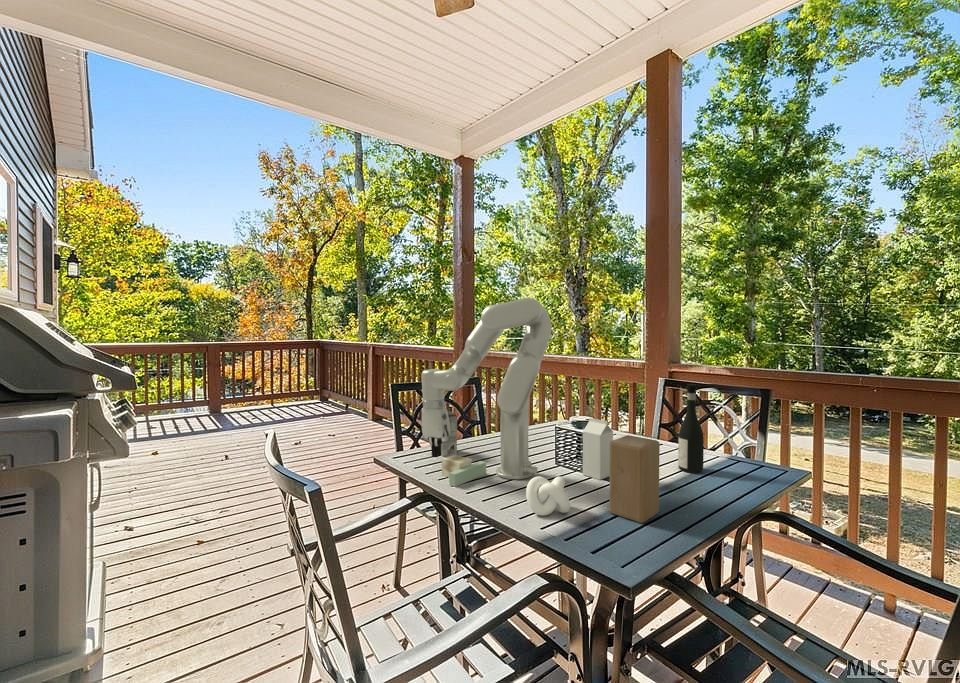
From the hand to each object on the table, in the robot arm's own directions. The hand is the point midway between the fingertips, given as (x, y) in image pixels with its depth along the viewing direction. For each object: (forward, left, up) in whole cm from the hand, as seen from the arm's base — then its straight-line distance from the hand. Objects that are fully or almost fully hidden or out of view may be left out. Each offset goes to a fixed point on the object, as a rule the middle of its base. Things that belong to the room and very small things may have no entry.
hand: (436, 456), depth 161 cm
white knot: (-49, +6, -5) cm, 50 cm away
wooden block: (-68, -6, -5) cm, 68 cm away
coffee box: (+12, -17, -5) cm, 22 cm away
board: (-15, +1, -5) cm, 16 cm away
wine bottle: (-70, -54, -5) cm, 89 cm away
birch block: (-10, +1, -5) cm, 11 cm away
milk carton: (-47, -29, -5) cm, 56 cm away
